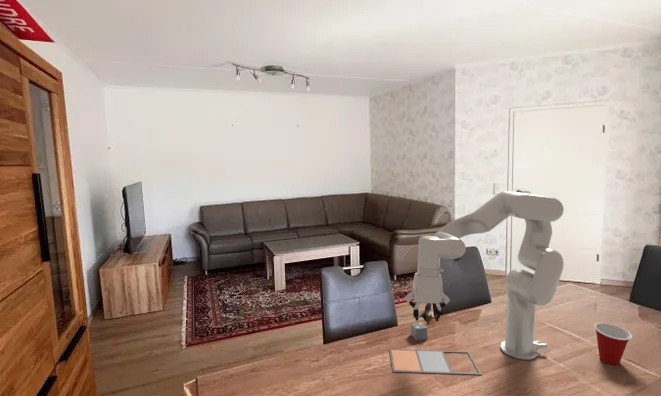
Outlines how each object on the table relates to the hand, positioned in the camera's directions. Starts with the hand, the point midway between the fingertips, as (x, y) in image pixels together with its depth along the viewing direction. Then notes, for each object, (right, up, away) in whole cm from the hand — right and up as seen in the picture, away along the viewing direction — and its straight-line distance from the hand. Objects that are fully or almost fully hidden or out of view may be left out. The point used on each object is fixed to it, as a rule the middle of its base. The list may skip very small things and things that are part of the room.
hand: (426, 319), depth 131 cm
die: (+2, -14, +20) cm, 24 cm away
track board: (+3, -16, +2) cm, 17 cm away
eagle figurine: (0, -2, +2) cm, 2 cm away
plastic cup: (+67, -16, +1) cm, 69 cm away
